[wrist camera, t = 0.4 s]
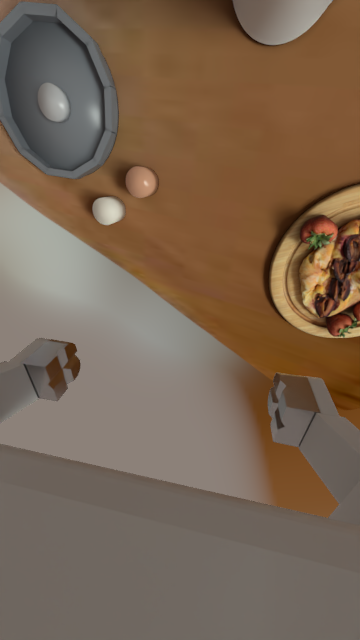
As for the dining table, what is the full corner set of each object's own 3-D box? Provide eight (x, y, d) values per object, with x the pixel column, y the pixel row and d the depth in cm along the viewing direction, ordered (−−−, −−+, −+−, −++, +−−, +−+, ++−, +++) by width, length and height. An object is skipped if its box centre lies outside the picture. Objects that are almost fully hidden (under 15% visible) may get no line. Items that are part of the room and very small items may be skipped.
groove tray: (-12, 9, 39) (-29, -3, 36) (117, 20, 37) (109, 8, 34) (21, 169, 51) (9, 168, 48) (119, 184, 49) (113, 185, 46)
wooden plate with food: (242, 243, 50) (243, 254, 44) (430, 134, 37) (476, 124, 30) (299, 351, 61) (308, 373, 54) (461, 296, 48) (500, 317, 41)
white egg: (103, 194, 50) (91, 195, 46) (125, 197, 50) (115, 199, 46) (104, 219, 53) (93, 222, 49) (125, 222, 52) (116, 226, 48)
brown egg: (135, 165, 46) (125, 164, 42) (159, 169, 46) (152, 168, 42) (134, 194, 49) (125, 195, 45) (157, 197, 49) (150, 199, 44)
